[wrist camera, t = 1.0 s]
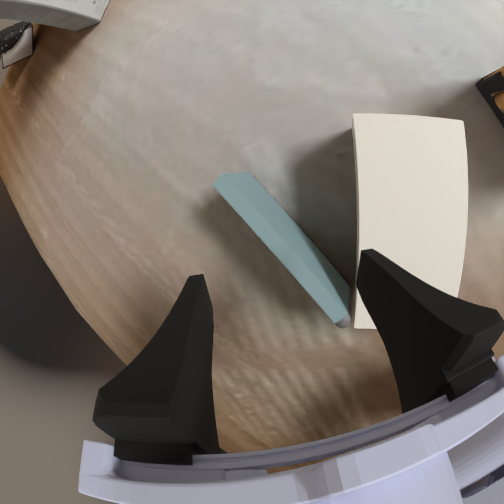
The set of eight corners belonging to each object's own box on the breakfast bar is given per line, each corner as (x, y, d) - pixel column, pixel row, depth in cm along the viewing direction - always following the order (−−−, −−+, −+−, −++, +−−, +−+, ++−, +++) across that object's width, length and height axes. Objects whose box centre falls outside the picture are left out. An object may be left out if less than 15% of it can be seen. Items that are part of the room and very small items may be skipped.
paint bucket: (95, -40, 21) (57, -55, 10) (99, -21, 22) (54, -38, 12) (21, 50, 33) (-15, 48, 22) (20, 79, 34) (-20, 79, 24)
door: (354, 292, 24) (353, 322, 19) (337, 304, 25) (332, 336, 20) (249, 172, 24) (222, 173, 19) (234, 187, 25) (205, 192, 20)
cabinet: (432, 295, 22) (450, 327, 16) (354, 295, 24) (354, 328, 19) (438, 131, 18) (463, 120, 12) (351, 128, 21) (352, 113, 15)
